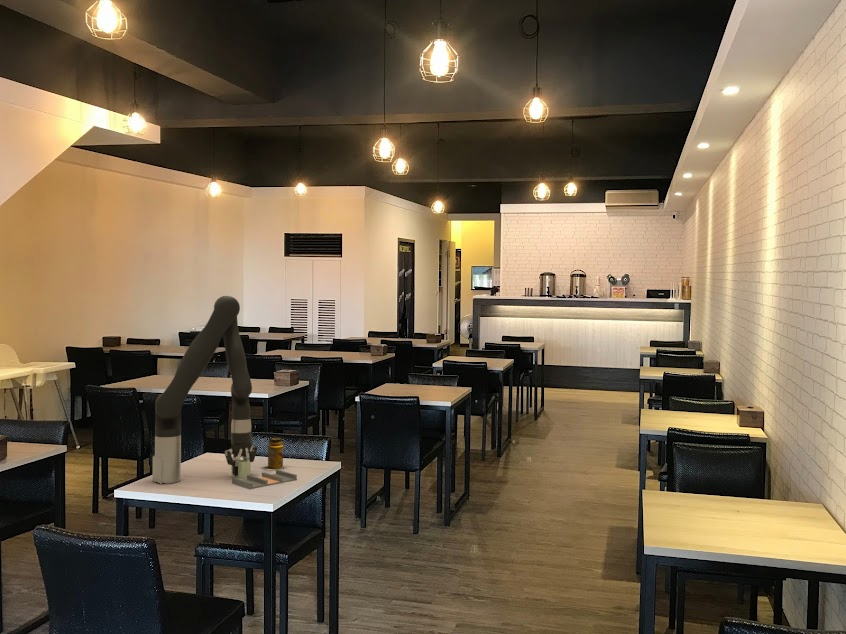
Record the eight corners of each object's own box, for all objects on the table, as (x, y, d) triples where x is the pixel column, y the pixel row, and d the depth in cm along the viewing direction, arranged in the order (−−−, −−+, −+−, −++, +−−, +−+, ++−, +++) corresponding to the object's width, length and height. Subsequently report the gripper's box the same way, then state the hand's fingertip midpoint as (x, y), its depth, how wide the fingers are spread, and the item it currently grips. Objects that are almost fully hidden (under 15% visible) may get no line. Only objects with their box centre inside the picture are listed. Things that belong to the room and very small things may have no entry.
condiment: (287, 468, 313) (287, 438, 313) (269, 471, 308) (269, 441, 307) (277, 465, 319) (277, 436, 318) (259, 468, 313) (259, 438, 312)
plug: (241, 478, 293) (241, 463, 293) (231, 475, 298) (231, 460, 298) (250, 477, 296) (250, 461, 296) (240, 474, 301) (240, 459, 301)
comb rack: (250, 489, 278) (250, 483, 278) (231, 483, 286) (231, 477, 286) (296, 479, 293) (296, 474, 293) (277, 474, 301) (278, 469, 301)
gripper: (251, 427, 305) (251, 470, 305) (219, 431, 294) (219, 475, 295) (262, 429, 299) (261, 473, 300) (230, 433, 289) (230, 479, 290)
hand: (240, 474), depth 297 cm, fingers closed on plug, 4 cm apart
